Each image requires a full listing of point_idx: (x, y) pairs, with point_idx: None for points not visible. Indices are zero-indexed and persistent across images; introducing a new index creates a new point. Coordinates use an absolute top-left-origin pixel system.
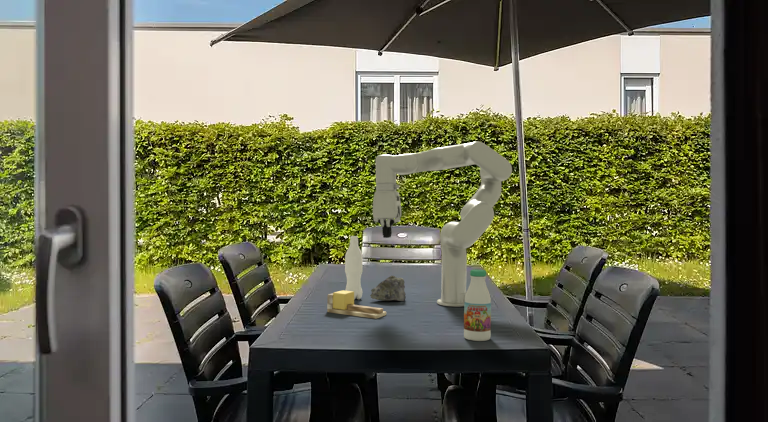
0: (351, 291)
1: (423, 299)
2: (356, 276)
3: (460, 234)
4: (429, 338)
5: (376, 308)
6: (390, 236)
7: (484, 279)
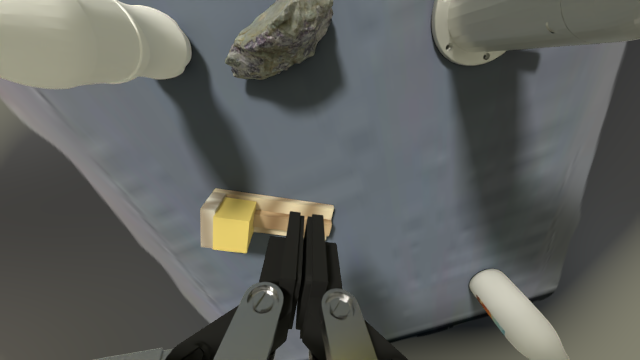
0: (243, 223)
1: None
2: (147, 70)
3: None
4: (423, 298)
5: None
6: (322, 221)
7: None
